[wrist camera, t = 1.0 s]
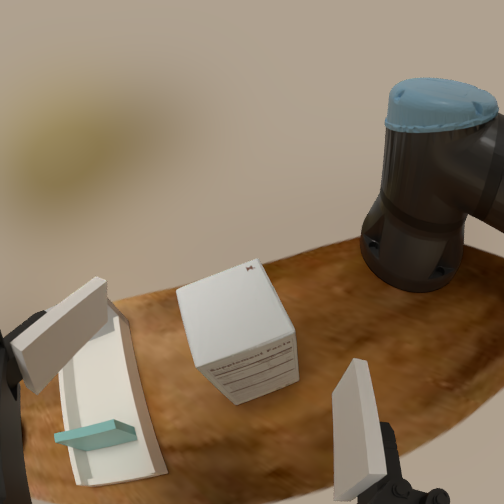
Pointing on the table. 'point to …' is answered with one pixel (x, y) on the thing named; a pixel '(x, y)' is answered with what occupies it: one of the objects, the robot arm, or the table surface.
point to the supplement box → (240, 332)
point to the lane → (109, 406)
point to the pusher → (97, 435)
